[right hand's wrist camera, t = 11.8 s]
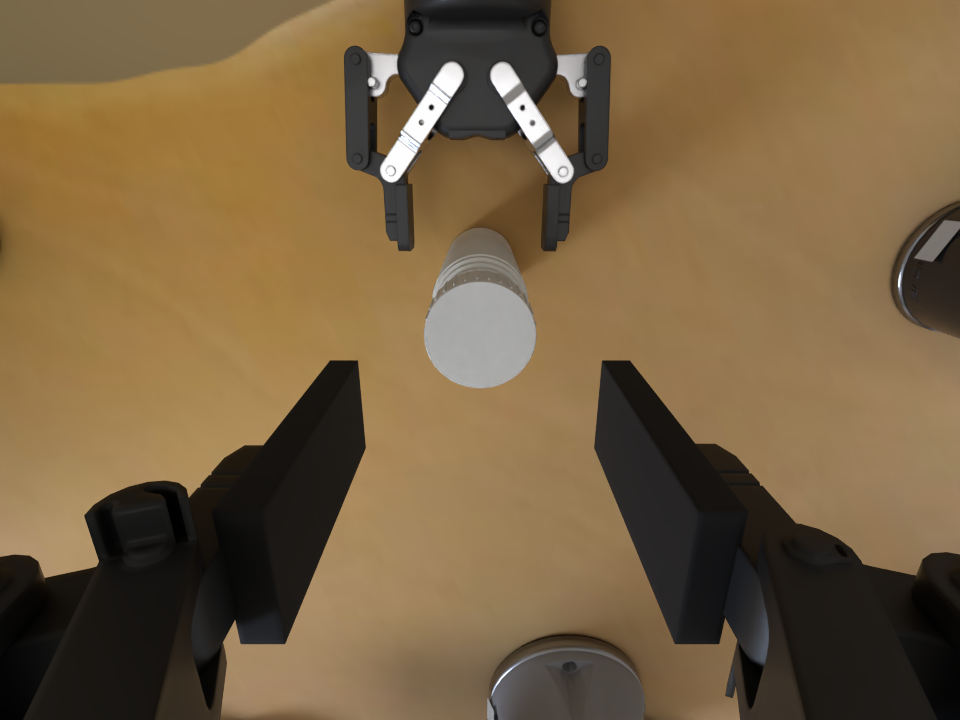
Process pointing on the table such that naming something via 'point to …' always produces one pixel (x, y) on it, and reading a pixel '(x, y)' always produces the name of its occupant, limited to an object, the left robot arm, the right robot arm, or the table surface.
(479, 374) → the cap
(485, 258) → the bottle
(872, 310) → the table surface
